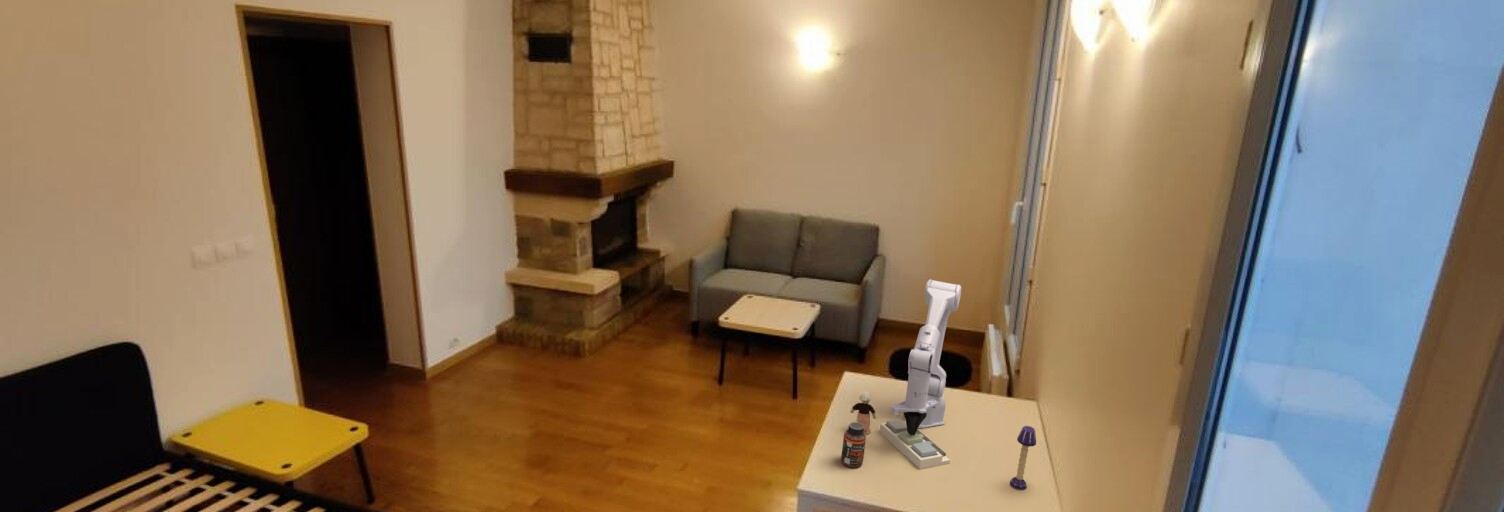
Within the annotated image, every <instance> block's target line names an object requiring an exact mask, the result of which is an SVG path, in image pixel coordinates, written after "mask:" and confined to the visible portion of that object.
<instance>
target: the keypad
mask: <svg viewBox="0 0 1504 512" xmlns="http://www.w3.org/2000/svg"><path fill="white" fill-rule="evenodd" d="M886 422H887V421H886ZM886 422H882V423H880V424H879V433H880V434H881V435H882V436H883V437H884V438H885V439H886V440H888V441H889V442H890V443H891V444H892V446H894V447H895V448H896V449H897V450H898V451H900V453H901V454H903V455H904V456H905V457H906V458H907V459H908V460H909V461H910V462H911V463H912V464H913V465H914V466H916V468H918V469H919V470H922V469H927V468H932V467H936V466H937V467H938V466H943V465H947V464H950V463H951V459H950V458H948V456H946V455H947V453H946V452H945V451H943V449H941V448H940V447H939V446H937V444H936V443H934V442H933V441H932V440H931V439H930V438H928V437H927V436H926V435H925V434H924V433H922V432H921V431H920V430H919V428H918V429H917V432H916V433H917V434H919V435H920V436H921V437H922V438H923V442H926V441H927V442H928V443H929V444H930V445H931V446H933V447H934V448H935V449H936V450H937V454H936V455H933V456H928V457H921V456H919V455H918V454H917V453H916V452H915V451H914V450H913V449H912V445H907V444H906V443H905V442H904V441H903V440H902V439H901V438H900V437H898V436H899V433H896V434H895V433H894V432H893V431H892V430H891V429H890V428H888V427H887V426H886Z"/></svg>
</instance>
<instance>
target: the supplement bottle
mask: <svg viewBox="0 0 1504 512" xmlns="http://www.w3.org/2000/svg"><path fill="white" fill-rule="evenodd" d="M866 440H867V434H865V433H864V426H863V425H862V424H860V423H857V421H856V422H855V421H852V422H850V423H849V424H848V428H847V429H846V430H845V431H844V434H843V440H842V446H841V447H842V449H841V457H840V462H841V463H842V465H843V466H845V467H847V468H852V469H853V468H855V469H857V468H860V467H861V466H863V464H864V457H865V456H864V455H865V449H866Z"/></svg>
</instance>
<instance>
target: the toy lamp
mask: <svg viewBox="0 0 1504 512" xmlns="http://www.w3.org/2000/svg"><path fill="white" fill-rule="evenodd" d="M1016 441H1017V442H1018V444H1020V445H1021V446H1022V447H1021V449H1020V453H1019V459H1018V464H1017V470H1016V471H1017V472H1016V473H1017V474H1016V476H1015V477H1012V478H1011V479H1010V481H1009V485H1010V486H1011V487H1012V488H1013V489H1017V490H1026V489H1027V481H1025V480H1026V479H1025V480H1024V474H1025V469H1026V463H1027V458H1028V453H1029V447H1034V446H1036V445H1037V435H1036V429H1035V427H1032V426H1029V425H1024V426H1022V428H1021V430H1020V432H1019V434H1018V436H1017V439H1016Z"/></svg>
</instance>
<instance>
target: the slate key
mask: <svg viewBox="0 0 1504 512" xmlns="http://www.w3.org/2000/svg"><path fill="white" fill-rule="evenodd" d="M912 449H913V450H914V451H915V452H916V453H917V454H918V455H919V456H921V457H928V456H933V455H936V454H937V450H936V449H935V448H934V447H933V446H931V445H930V444H929V443H928V442H927V441H926V442H920V443H915V444H912Z"/></svg>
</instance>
